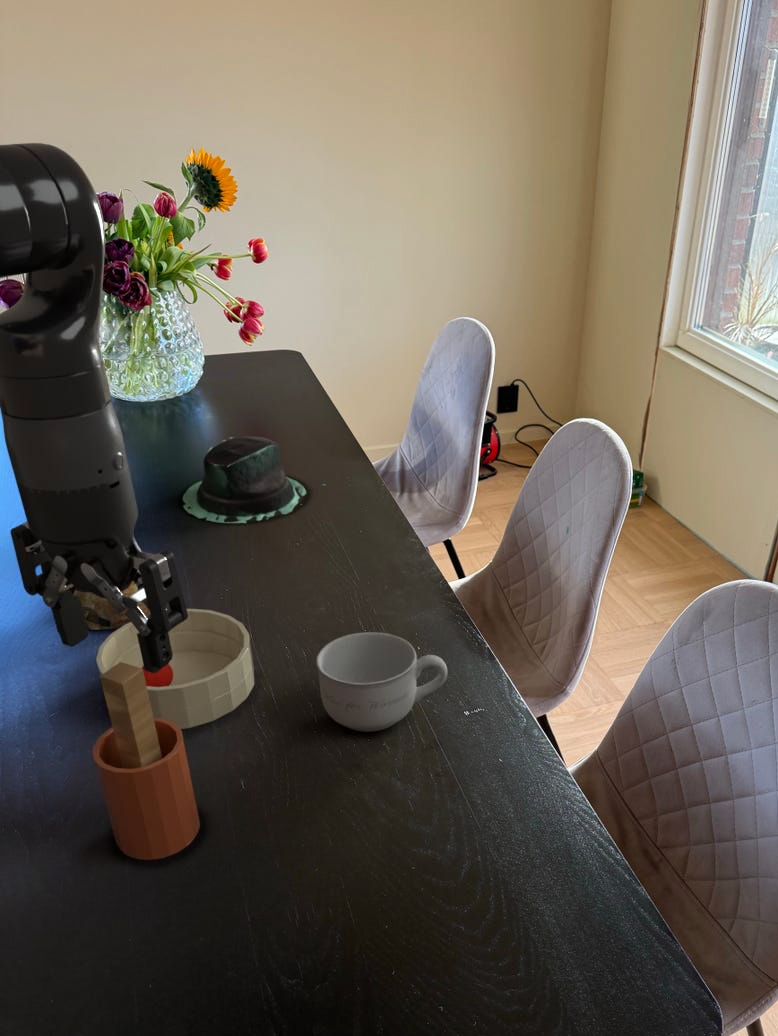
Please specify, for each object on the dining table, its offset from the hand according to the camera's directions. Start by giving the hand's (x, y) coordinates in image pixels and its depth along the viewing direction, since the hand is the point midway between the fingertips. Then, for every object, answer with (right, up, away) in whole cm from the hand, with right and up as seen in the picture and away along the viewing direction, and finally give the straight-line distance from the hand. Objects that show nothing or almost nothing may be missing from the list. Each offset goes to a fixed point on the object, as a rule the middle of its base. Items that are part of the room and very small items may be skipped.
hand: (117, 654), depth 72 cm
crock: (-1, -17, +11) cm, 20 cm away
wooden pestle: (-1, -17, +11) cm, 20 cm away
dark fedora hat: (-9, +25, +75) cm, 79 cm away
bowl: (-5, -5, +30) cm, 31 cm away
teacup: (+19, -7, +27) cm, 34 cm away
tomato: (-7, -3, +28) cm, 29 cm away
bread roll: (-18, +5, +44) cm, 48 cm away
